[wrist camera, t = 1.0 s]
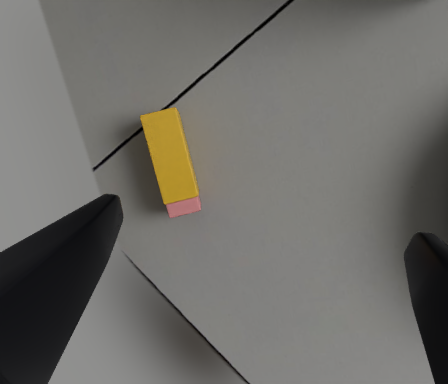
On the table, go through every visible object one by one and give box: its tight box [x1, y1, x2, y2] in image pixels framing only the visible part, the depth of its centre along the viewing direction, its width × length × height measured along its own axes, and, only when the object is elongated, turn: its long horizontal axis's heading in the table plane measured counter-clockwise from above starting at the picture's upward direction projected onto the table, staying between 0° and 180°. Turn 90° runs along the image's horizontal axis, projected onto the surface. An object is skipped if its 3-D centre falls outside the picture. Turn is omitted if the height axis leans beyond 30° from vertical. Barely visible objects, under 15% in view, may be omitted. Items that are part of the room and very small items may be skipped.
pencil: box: [140, 107, 201, 218], centre depth 22 cm, size 7×2×2 cm, turn 14°
